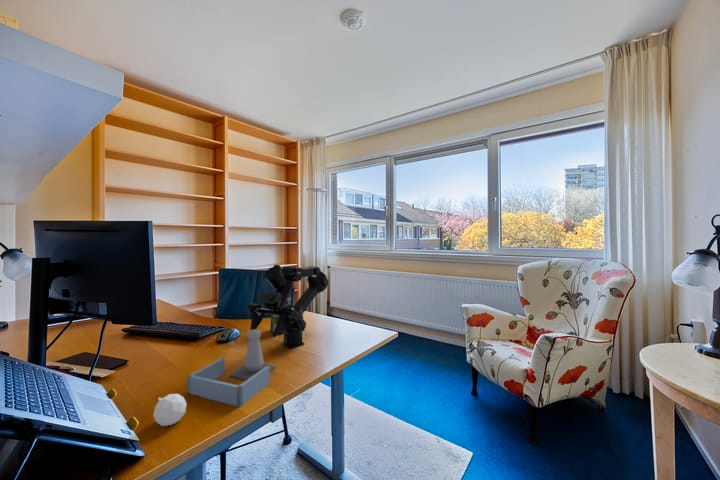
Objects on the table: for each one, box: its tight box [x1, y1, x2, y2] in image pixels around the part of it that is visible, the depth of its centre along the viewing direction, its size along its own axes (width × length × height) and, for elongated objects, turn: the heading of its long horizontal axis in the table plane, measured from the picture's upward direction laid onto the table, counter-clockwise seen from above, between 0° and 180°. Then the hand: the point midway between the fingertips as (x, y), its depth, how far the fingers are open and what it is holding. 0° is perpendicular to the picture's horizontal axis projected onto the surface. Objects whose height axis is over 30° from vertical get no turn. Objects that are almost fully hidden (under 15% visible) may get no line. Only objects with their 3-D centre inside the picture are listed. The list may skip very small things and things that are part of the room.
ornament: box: [152, 393, 188, 427], centre depth 70 cm, size 6×7×7 cm
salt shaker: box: [244, 328, 264, 373], centre depth 95 cm, size 6×6×13 cm
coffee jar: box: [269, 291, 292, 334], centre depth 133 cm, size 10×8×19 cm
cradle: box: [187, 357, 270, 408], centre depth 85 cm, size 12×18×5 cm
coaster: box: [229, 363, 277, 381], centre depth 95 cm, size 10×10×1 cm
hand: (262, 335), depth 99 cm, fingers open, 9 cm apart
